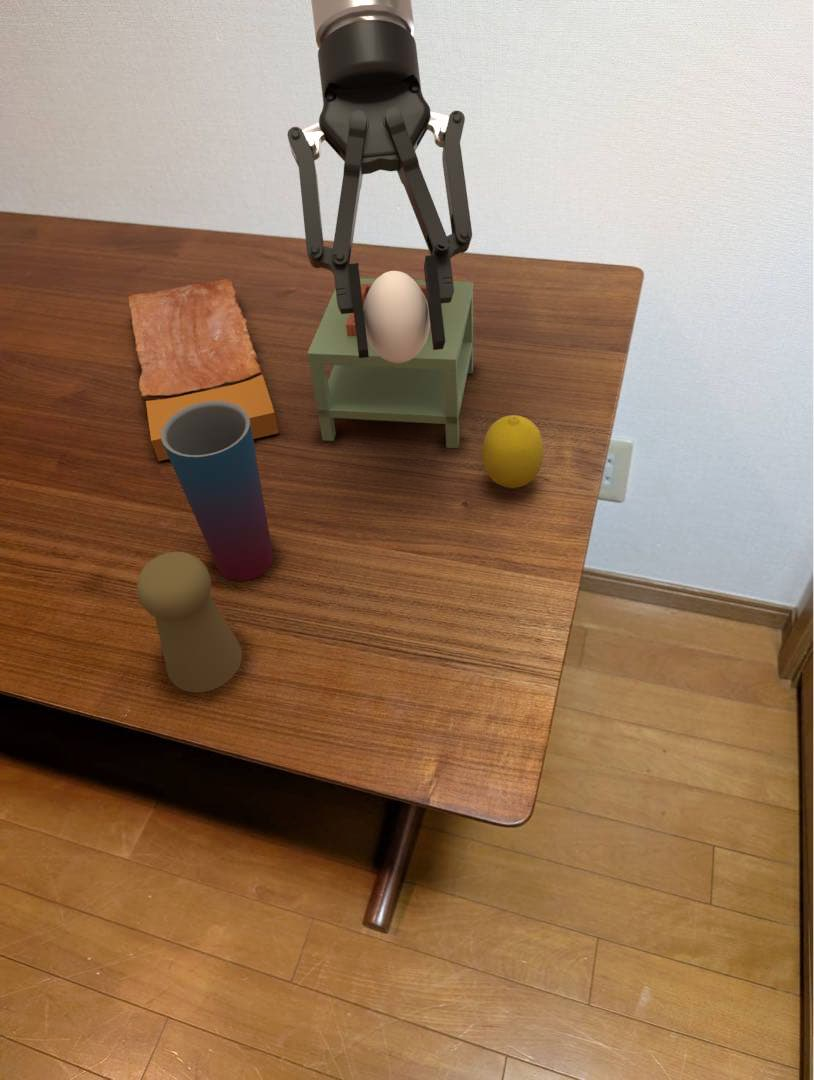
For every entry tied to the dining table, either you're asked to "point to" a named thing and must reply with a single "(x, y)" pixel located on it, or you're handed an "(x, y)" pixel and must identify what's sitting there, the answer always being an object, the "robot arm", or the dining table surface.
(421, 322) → the egg
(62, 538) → the dining table surface
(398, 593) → the dining table surface
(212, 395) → the salmon fillet board
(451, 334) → the green side table
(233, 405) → the cup
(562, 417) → the dining table surface
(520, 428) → the lemon
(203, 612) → the cork
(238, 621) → the dining table surface
